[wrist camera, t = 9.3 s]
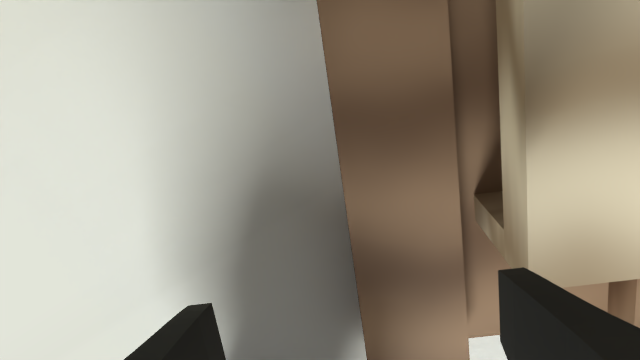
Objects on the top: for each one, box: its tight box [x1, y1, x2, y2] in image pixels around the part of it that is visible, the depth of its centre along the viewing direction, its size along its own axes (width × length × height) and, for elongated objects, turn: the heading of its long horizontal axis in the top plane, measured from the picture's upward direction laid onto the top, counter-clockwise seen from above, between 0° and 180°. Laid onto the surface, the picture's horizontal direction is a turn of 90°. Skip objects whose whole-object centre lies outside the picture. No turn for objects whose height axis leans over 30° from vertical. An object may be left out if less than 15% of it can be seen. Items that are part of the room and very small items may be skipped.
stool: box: [474, 0, 640, 288], centre depth 16 cm, size 14×5×6 cm, turn 9°
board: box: [317, 0, 640, 360], centre depth 19 cm, size 22×16×3 cm
